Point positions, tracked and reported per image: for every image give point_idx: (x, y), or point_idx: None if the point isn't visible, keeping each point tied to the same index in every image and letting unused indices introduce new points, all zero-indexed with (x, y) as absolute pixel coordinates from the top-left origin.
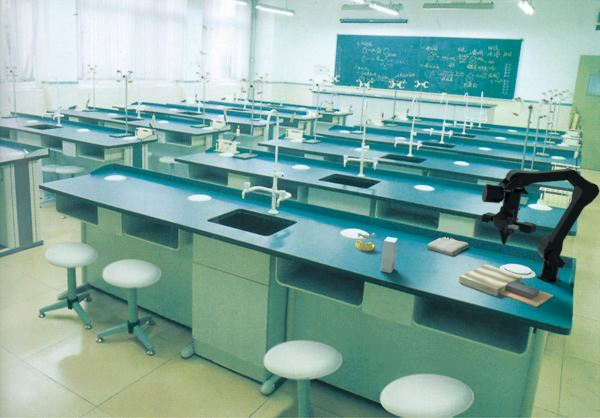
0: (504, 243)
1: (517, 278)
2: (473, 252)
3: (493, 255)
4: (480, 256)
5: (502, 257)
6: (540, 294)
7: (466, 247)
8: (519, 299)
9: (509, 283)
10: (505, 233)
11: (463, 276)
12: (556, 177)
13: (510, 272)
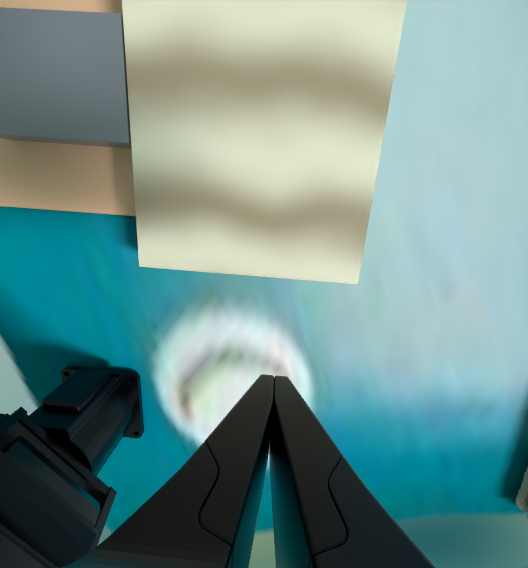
0: (260, 379)
1: (135, 204)
2: (473, 462)
3: (382, 488)
4: (428, 438)
5: None
6: (11, 160)
7: (522, 493)
8: None
9: (124, 69)
10: (285, 563)
11: None
12: None
13: (204, 268)
